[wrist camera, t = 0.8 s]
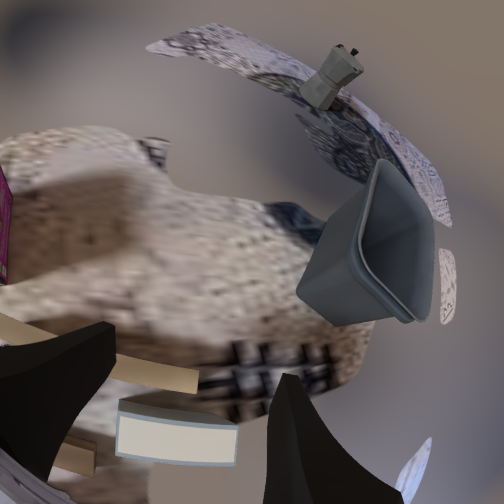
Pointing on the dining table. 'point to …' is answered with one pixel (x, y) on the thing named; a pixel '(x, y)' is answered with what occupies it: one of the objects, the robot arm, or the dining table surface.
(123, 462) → the dining table surface
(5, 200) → the candy bar box
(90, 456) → the walnut block
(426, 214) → the storage bin
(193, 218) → the dining table surface
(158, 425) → the boxed book
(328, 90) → the coffeepot
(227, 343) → the dining table surface
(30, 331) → the shelf wall
